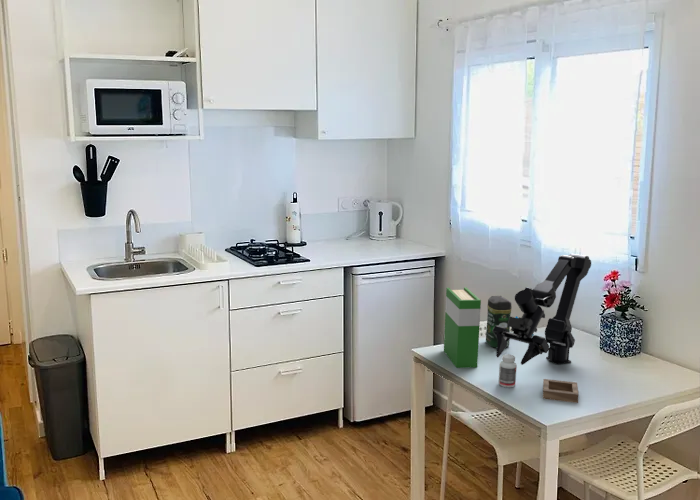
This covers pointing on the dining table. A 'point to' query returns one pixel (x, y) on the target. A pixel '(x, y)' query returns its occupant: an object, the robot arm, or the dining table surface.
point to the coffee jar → (497, 317)
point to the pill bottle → (507, 371)
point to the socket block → (560, 390)
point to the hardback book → (462, 327)
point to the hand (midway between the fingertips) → (509, 360)
